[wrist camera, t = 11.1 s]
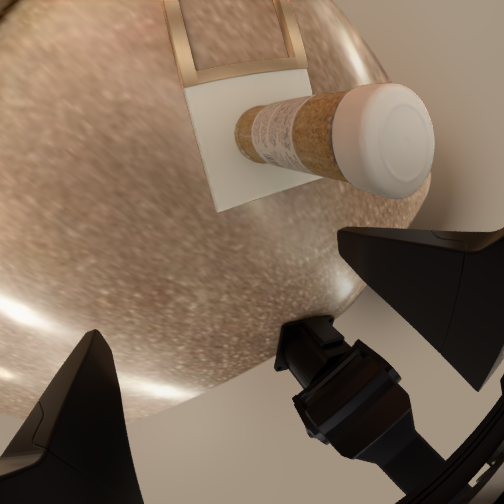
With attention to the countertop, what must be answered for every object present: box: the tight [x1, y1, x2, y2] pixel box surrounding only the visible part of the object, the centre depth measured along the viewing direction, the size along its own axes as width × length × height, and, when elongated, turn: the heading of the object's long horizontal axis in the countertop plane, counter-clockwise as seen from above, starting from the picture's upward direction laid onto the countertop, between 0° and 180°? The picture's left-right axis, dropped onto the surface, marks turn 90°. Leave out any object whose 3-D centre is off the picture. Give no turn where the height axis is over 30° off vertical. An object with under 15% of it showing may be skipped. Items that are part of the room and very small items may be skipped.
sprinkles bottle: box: [234, 83, 434, 199], centre depth 15 cm, size 5×5×13 cm
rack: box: [161, 0, 309, 89], centre depth 14 cm, size 10×10×6 cm
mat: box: [183, 68, 324, 213], centre depth 21 cm, size 10×10×1 cm
